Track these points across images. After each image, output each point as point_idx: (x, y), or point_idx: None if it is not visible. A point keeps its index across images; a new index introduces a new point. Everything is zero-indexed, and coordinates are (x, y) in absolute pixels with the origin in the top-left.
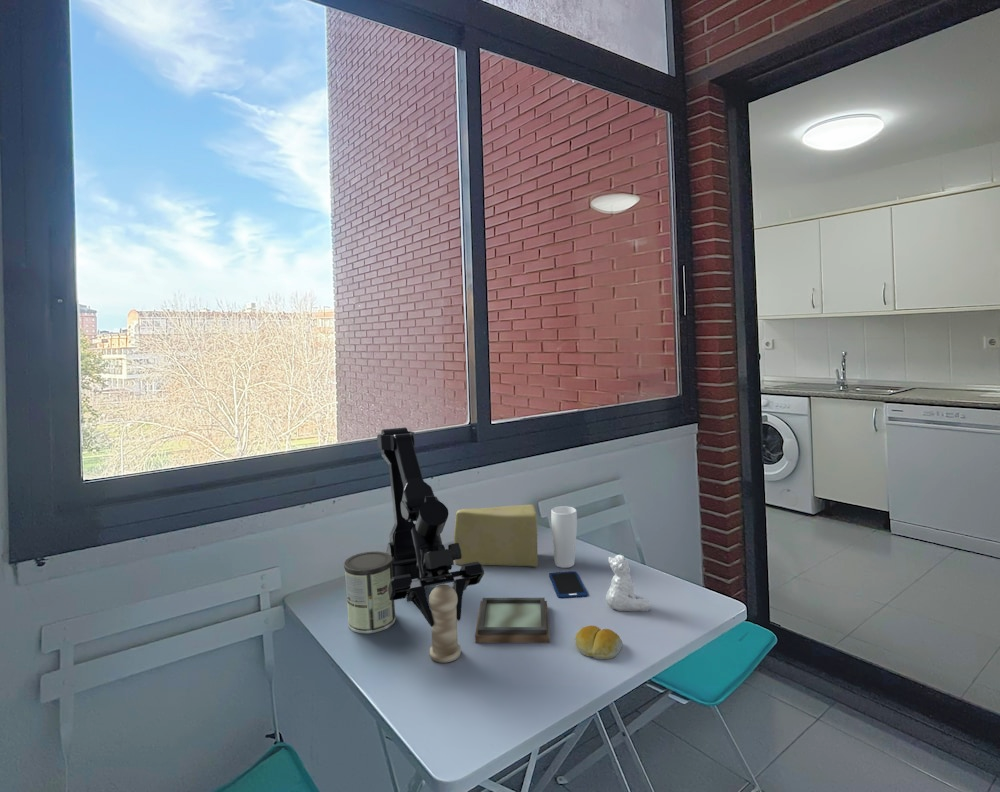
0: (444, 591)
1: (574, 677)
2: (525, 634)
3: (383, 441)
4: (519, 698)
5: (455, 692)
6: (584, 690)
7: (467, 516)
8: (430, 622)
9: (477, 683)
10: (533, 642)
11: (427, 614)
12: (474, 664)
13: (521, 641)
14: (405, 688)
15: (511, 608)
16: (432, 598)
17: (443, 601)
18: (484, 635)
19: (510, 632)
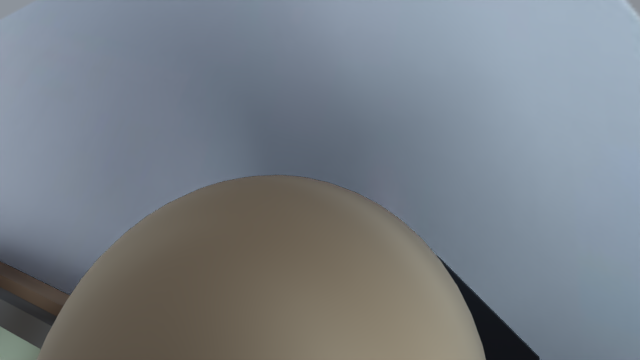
0: (196, 252)
1: (38, 66)
2: (18, 295)
3: None
4: (199, 11)
5: (364, 67)
6: (50, 15)
7: None
8: (447, 267)
9: (285, 96)
10: (29, 276)
11: (483, 304)
12: None
13: (57, 290)
14: (548, 126)
15: None
16: (446, 289)
17: (291, 177)
18: None
19: (55, 319)
